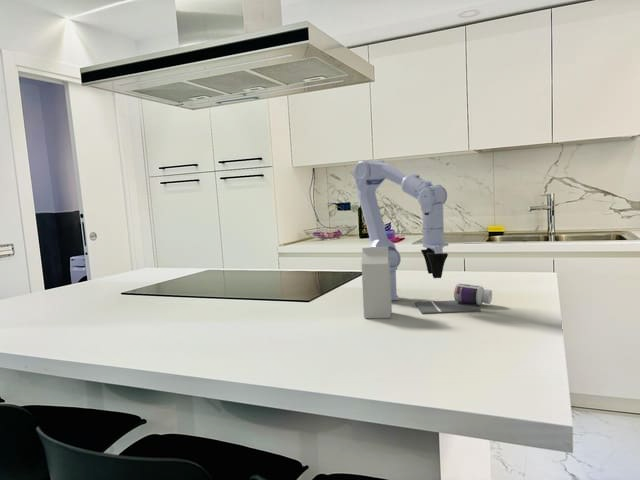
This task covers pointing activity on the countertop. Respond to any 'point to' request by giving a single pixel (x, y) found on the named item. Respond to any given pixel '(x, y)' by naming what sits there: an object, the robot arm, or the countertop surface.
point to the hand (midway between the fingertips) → (434, 275)
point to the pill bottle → (472, 294)
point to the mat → (445, 307)
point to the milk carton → (376, 282)
